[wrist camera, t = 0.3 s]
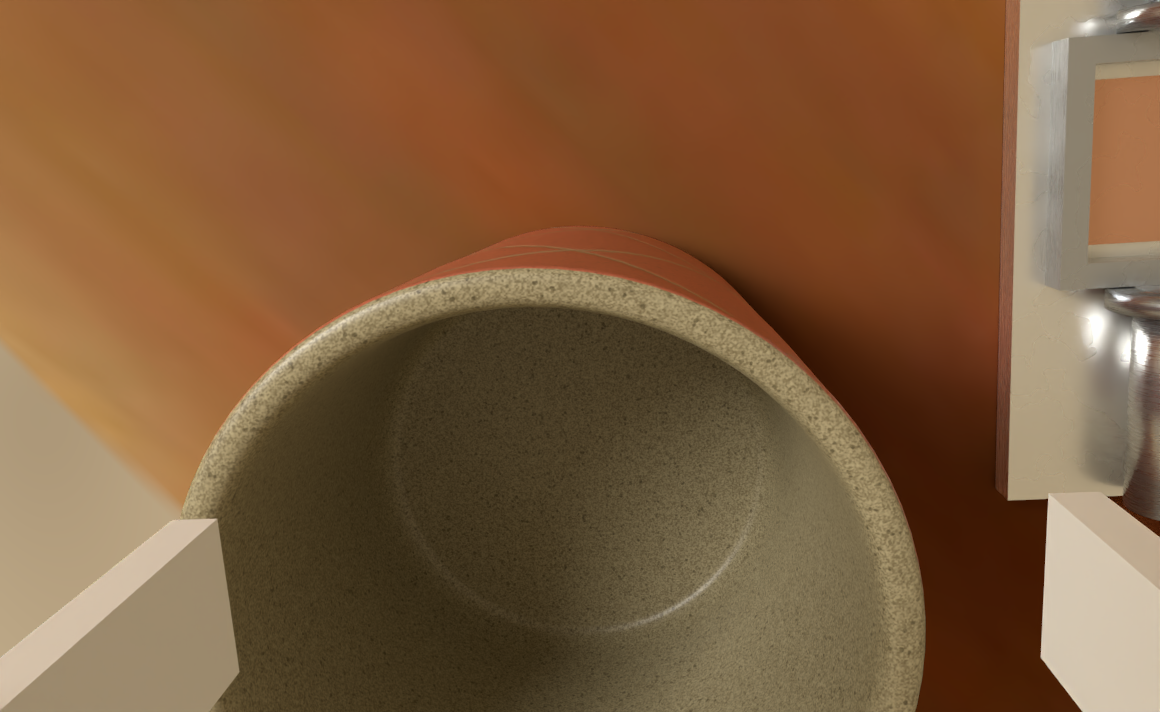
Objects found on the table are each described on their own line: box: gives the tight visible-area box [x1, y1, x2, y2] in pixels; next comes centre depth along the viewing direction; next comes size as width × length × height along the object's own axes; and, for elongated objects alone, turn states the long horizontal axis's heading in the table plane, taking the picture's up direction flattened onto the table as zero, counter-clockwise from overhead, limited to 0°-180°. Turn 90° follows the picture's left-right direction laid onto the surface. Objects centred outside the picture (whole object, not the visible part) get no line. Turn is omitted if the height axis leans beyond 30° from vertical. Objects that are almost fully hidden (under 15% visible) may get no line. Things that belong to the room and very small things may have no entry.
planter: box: [180, 226, 926, 712], centre depth 34 cm, size 19×19×20 cm
